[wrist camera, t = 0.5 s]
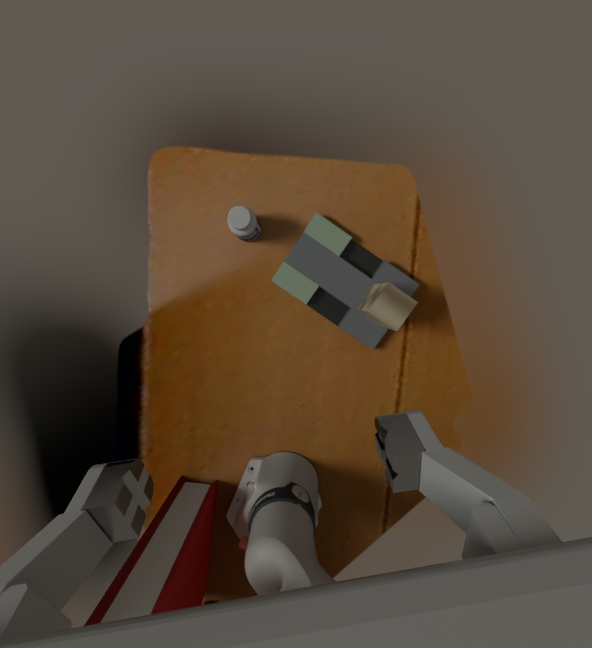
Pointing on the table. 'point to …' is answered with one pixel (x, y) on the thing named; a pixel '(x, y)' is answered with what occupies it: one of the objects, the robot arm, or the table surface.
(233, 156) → the table surface
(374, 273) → the board
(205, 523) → the book
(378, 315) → the birch block
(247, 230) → the pill bottle
